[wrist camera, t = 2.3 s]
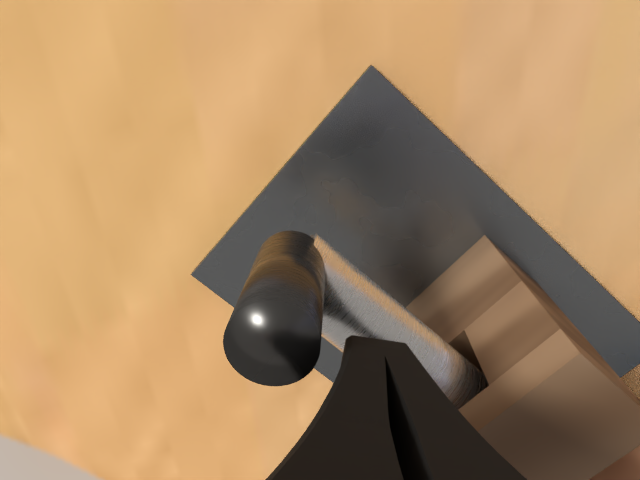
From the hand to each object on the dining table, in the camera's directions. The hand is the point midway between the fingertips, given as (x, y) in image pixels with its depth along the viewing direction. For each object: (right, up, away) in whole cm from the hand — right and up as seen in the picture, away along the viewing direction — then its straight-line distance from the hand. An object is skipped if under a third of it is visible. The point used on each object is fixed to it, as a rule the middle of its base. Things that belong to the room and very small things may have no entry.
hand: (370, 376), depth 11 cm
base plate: (+3, +1, +8) cm, 9 cm away
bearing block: (+4, 0, +8) cm, 9 cm away
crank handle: (+2, -1, +4) cm, 4 cm away
